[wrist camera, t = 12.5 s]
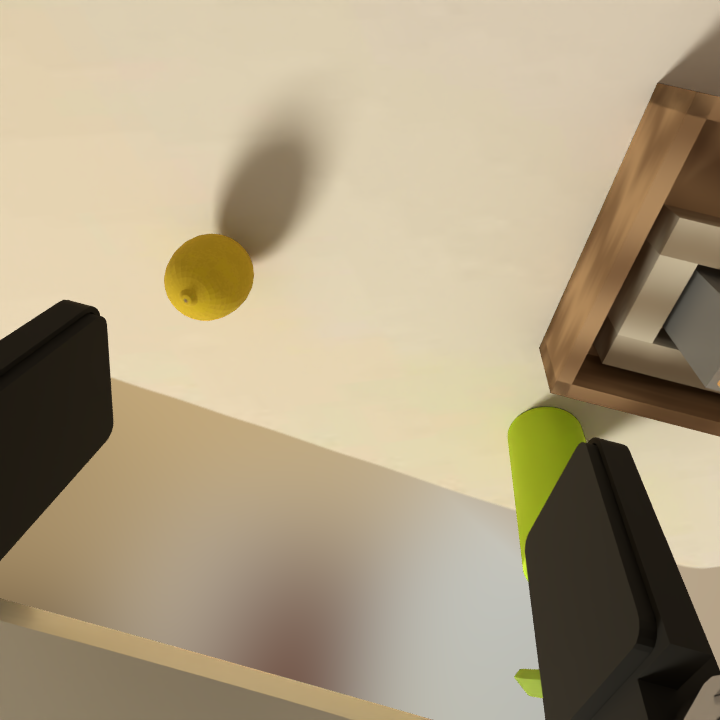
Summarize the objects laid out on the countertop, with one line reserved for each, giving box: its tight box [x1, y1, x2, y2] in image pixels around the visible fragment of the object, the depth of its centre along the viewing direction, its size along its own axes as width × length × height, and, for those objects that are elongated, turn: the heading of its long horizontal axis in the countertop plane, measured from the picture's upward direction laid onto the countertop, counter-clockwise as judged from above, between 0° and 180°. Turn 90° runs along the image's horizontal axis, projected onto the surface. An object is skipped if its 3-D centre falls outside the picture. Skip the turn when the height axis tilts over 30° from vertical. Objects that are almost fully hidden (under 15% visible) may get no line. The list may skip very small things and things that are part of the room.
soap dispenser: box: [508, 407, 586, 698], centre depth 36 cm, size 6×7×20 cm
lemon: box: [164, 234, 254, 321], centre depth 37 cm, size 6×6×8 cm
